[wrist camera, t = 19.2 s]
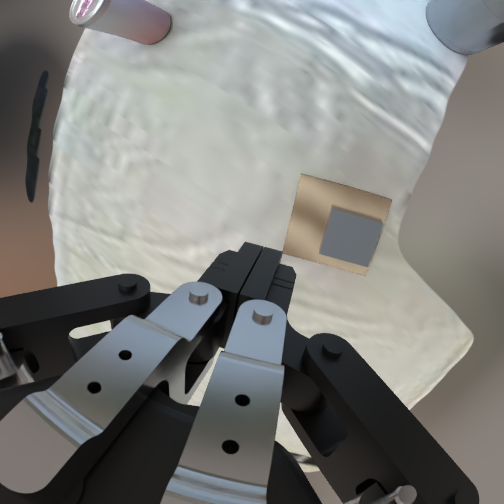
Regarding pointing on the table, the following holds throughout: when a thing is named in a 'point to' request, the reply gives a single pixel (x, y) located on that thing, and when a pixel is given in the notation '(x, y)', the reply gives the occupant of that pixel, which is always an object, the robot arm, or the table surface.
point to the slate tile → (350, 235)
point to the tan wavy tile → (316, 214)
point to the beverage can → (122, 18)
